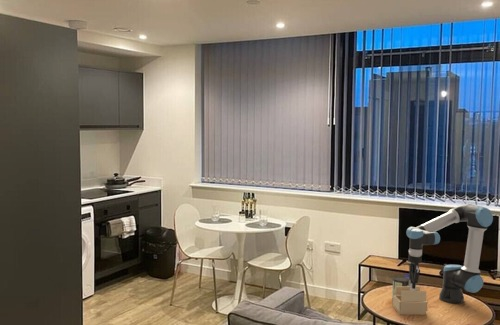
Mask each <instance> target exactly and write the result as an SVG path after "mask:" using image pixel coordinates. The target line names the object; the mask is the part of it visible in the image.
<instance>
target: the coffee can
mask: <svg viewBox="0 0 500 325" xmlns="http://www.w3.org/2000/svg"><path fill="white" fill-rule="evenodd" d="M396 286H409V279H408V278H405V277H404V276H393V277H392V294H391V296H392V297H391V299H392V301H393V296H394V295H401V294H395V290H396Z"/></svg>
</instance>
